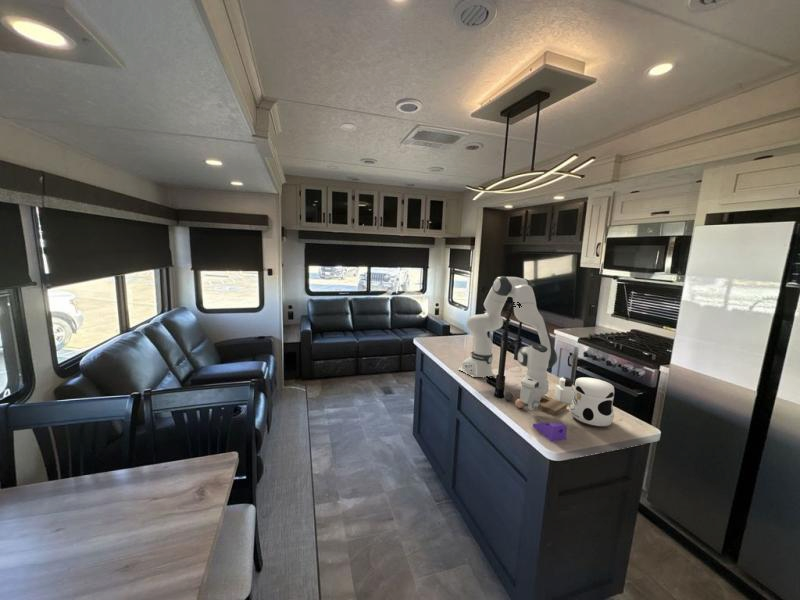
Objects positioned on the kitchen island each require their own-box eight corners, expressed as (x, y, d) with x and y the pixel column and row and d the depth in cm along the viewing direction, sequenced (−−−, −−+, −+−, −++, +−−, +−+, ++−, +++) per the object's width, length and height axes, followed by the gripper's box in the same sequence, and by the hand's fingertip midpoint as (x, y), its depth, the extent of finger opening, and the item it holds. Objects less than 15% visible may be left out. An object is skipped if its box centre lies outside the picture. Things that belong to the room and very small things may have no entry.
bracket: (565, 440, 132) (567, 424, 131) (551, 442, 130) (553, 426, 129) (545, 425, 144) (546, 410, 143) (532, 427, 142) (533, 412, 141)
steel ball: (526, 409, 153) (527, 400, 152) (531, 406, 156) (532, 397, 155) (535, 413, 149) (536, 404, 149) (540, 410, 152) (541, 401, 152)
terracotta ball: (513, 407, 159) (513, 398, 159) (517, 404, 162) (518, 396, 162) (521, 410, 156) (522, 401, 155) (526, 407, 159) (526, 399, 158)
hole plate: (516, 400, 167) (517, 396, 166) (528, 394, 174) (529, 390, 174) (555, 415, 152) (555, 410, 151) (566, 408, 159) (566, 403, 159)
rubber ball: (502, 399, 167) (503, 391, 167) (507, 397, 170) (507, 389, 170) (510, 402, 164) (510, 394, 163) (514, 400, 167) (515, 392, 166)
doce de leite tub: (561, 411, 156) (565, 376, 153) (594, 411, 158) (598, 376, 155) (585, 431, 139) (589, 392, 136) (622, 430, 140) (627, 391, 138)
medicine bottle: (568, 397, 172) (570, 376, 170) (574, 403, 165) (576, 381, 163) (554, 396, 173) (556, 375, 171) (559, 402, 166) (561, 380, 164)
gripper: (540, 372, 159) (538, 398, 161) (518, 381, 146) (516, 409, 148) (553, 376, 154) (550, 403, 156) (531, 386, 141) (528, 415, 144)
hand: (533, 406), depth 152 cm, fingers closed on steel ball, 4 cm apart
